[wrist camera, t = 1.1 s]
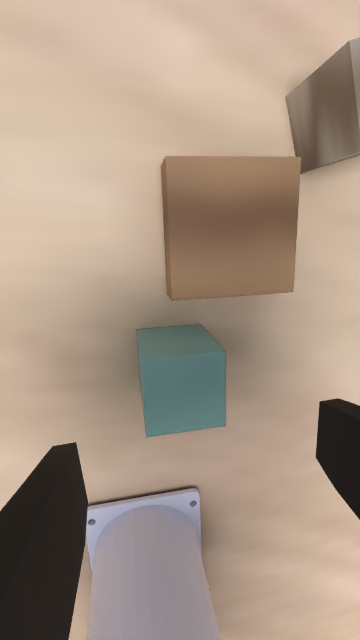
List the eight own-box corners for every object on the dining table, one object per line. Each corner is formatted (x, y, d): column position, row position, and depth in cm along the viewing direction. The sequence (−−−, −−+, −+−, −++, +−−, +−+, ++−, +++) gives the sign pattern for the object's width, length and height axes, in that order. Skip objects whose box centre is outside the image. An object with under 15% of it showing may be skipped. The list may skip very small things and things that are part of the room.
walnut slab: (273, 286, 20) (293, 292, 17) (166, 293, 19) (172, 300, 16) (278, 167, 18) (300, 156, 16) (160, 167, 17) (165, 156, 15)
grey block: (359, 155, 18) (442, 124, 13) (298, 174, 18) (361, 150, 13) (350, 78, 17) (438, 15, 12) (285, 97, 17) (349, 40, 12)
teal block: (201, 381, 20) (225, 426, 15) (141, 389, 20) (146, 437, 15) (200, 323, 19) (225, 351, 14) (136, 329, 18) (140, 360, 14)
